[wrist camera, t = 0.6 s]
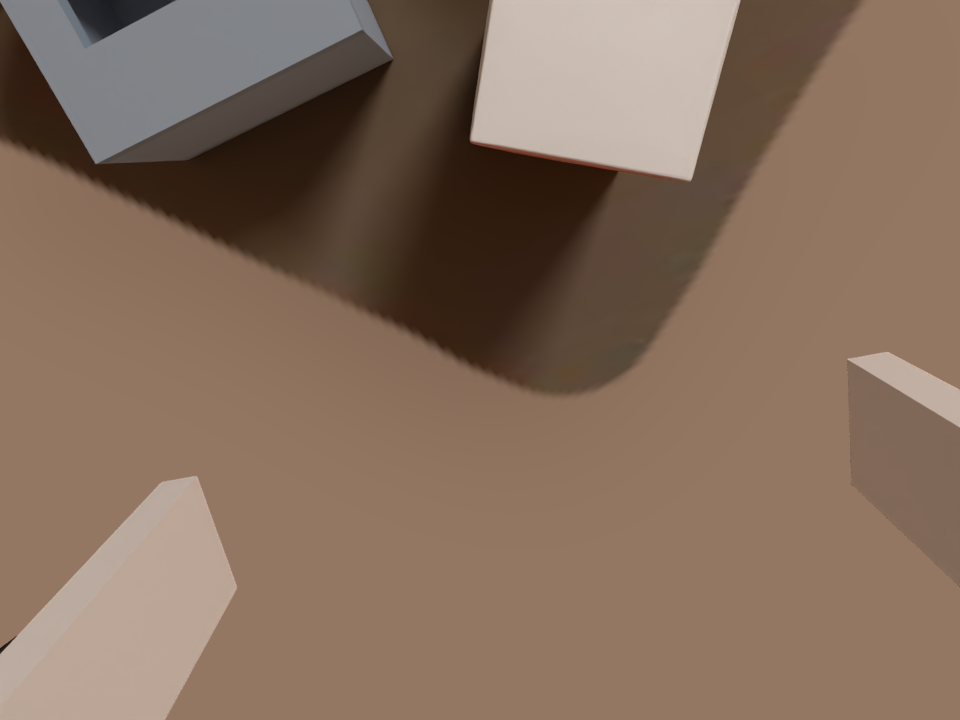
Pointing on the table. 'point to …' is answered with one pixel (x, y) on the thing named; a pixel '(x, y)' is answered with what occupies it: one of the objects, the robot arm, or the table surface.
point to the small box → (602, 81)
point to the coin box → (190, 66)
